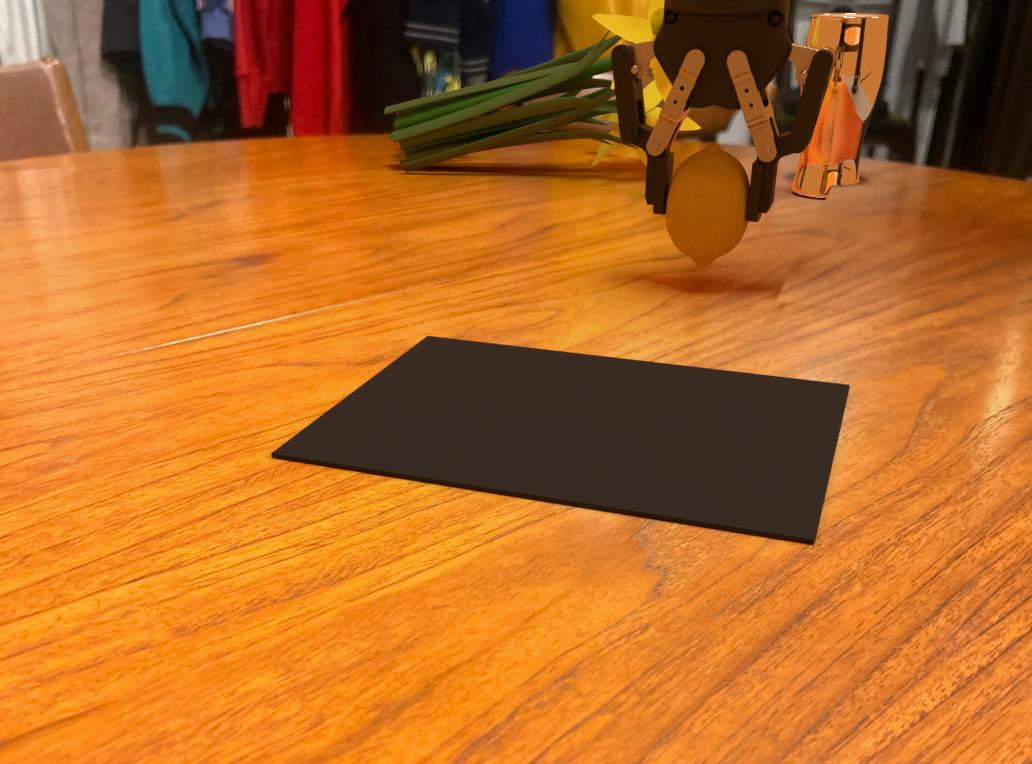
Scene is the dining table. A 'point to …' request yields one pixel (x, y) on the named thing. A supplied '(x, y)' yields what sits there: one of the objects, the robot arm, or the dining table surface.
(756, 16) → the robot arm
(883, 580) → the dining table surface
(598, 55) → the daffodil flowers
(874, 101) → the beer glass
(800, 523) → the felt mat
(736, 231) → the lemon
